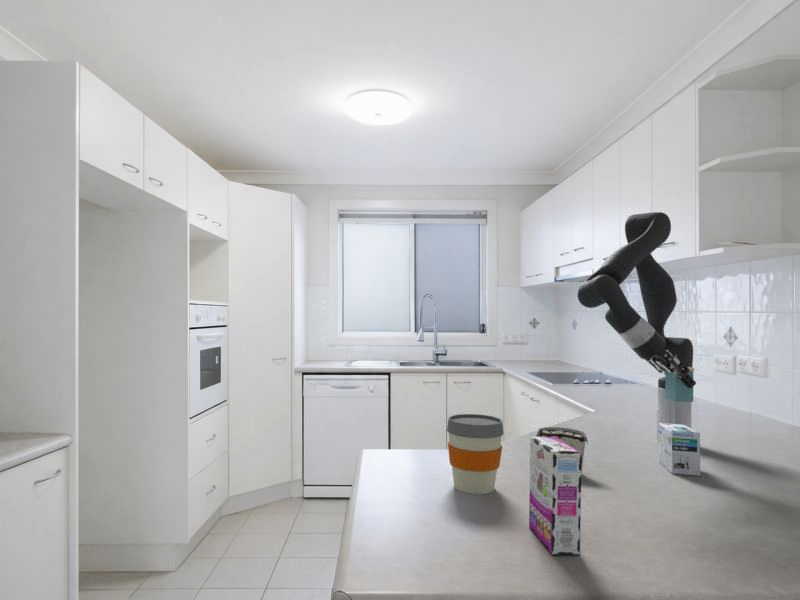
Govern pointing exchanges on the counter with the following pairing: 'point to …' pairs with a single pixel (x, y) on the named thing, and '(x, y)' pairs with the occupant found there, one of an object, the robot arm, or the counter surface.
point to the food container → (566, 437)
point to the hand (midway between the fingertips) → (686, 384)
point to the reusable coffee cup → (474, 451)
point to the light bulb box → (679, 449)
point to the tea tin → (677, 388)
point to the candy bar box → (555, 495)
